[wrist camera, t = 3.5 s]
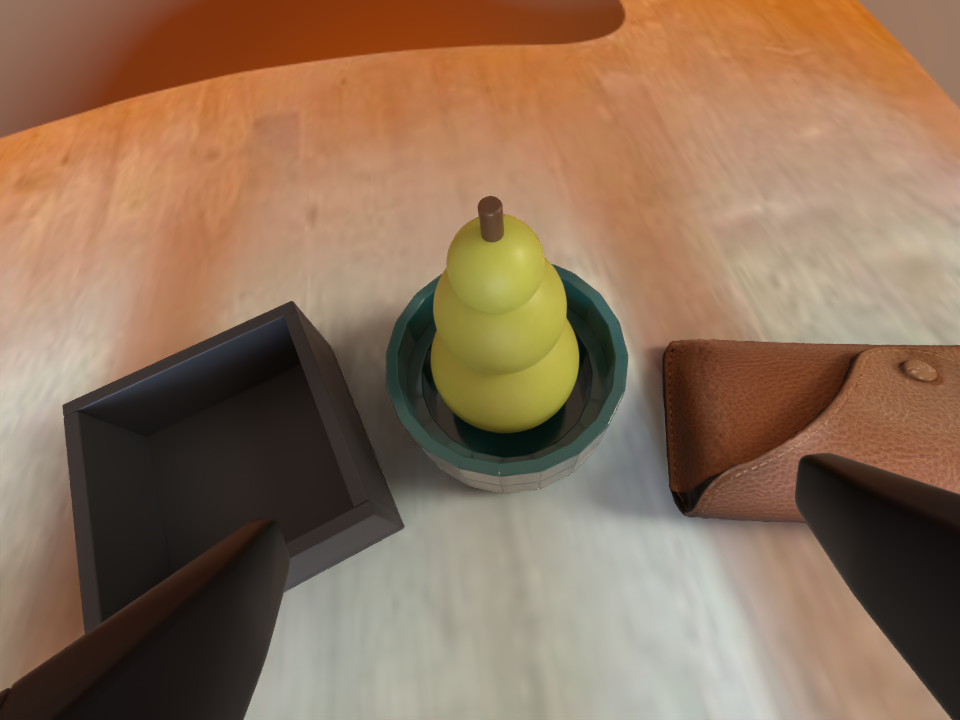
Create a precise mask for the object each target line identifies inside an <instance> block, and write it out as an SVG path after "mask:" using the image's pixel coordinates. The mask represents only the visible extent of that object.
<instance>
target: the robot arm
mask: <svg viewBox="0 0 960 720" xmlns="http://www.w3.org/2000/svg"><path fill="white" fill-rule="evenodd" d="M795 502H796V506H797V508H798V510H799V512H800V514H801V515H802V517H803V518H804V520H805V521H806V523H807V525H808V526H809V528H810V529H811V531H812V532H813V534H814V535H815V537H816V538H817V540H818V541H819V543H820V544H821V546H822V548H823V549H824V551H825V552H826V554H827V555H828V557H829V558H830V560H831V561H832V563H833V564H834V566H835V568H836V569H837V571H838V572H839V574H840V575H841V577H842V578H843V580H844V581H845V583H846V584H847V586H848V587H849V588H850V590H851V591H852V593H853V594H854V596H855V597H856V598H857V600H858V601H859V602H860V604H861V605H862V606H863V608H864V609H865V610H866V612H867V613H868V614H869V615H870V617H871V618H872V619H873V620H874V622H875V623H876V624H877V625H878V627H879V628H880V629H881V630H882V632H883V633H884V634H885V636H886V637H887V638H888V639H889V641H890V642H891V643H892V644H893V646H894V647H895V648H896V649H897V651H898V652H899V653H900V655H901V656H902V657H903V658H904V660H905V661H906V662H907V663H908V665H909V666H910V667H911V668H912V670H913V671H914V672H915V674H916V675H917V676H918V677H919V679H920V680H921V681H922V682H923V684H924V685H925V686H926V687H927V689H928V690H929V691H930V693H931V694H932V695H933V696H934V698H935V699H936V700H937V701H938V703H939V704H940V705H941V706H942V708H943V709H944V710H945V711H946V713H947V714H948V715H949V717H950V718H951V719H952V720H960V494H958V493H955V492H952V491H949V490H946V489H942V488H939V487H936V486H933V485H930V484H927V483H924V482H921V481H917V480H914V479H911V478H908V477H905V476H902V475H899V474H895V473H892V472H889V471H886V470H883V469H880V468H877V467H874V466H870V465H867V464H864V463H861V462H858V461H855V460H852V459H848V458H845V457H842V456H839V455H836V454H833V453H817V454H809V455H804V456H803V457H802V458H801V459H800V460H799V464H798V472H797V480H796V489H795ZM289 570H290V555H289V551H288V548H287V545H286V542H285V539H284V537H283V534H282V531H281V528H280V525H279V523H278V522H277V520H275V519H273V518H267V519H259V520H252V521H249V522H248V523H246V524H245V525H243V526H242V527H240V528H239V529H238V530H236V531H235V532H233V533H232V534H230V535H229V536H227V537H226V538H224V539H223V540H222V541H220V542H219V543H217V544H216V545H214V546H213V547H211V548H210V549H208V550H207V551H206V552H204V553H203V554H201V555H200V556H198V557H197V558H195V559H194V560H192V561H191V562H190V563H188V564H187V565H185V566H184V567H182V568H181V569H179V570H178V571H177V572H175V573H174V574H172V575H171V576H169V577H168V578H166V579H165V580H163V581H162V582H161V583H159V584H158V585H156V586H155V587H153V588H152V589H150V590H149V591H147V592H146V593H145V594H143V595H142V596H140V597H139V598H137V599H136V600H134V601H133V602H131V603H130V604H129V605H127V606H126V607H124V608H123V609H121V610H120V611H118V612H117V613H115V614H114V615H113V616H111V617H110V618H108V619H107V620H105V621H104V622H102V623H101V624H99V625H98V626H97V627H95V628H94V629H92V630H91V631H89V632H88V633H86V634H85V635H83V636H82V637H81V638H79V639H78V640H76V641H75V642H73V643H72V644H70V645H69V646H67V647H66V648H65V649H63V650H62V651H60V652H59V653H57V654H56V655H54V656H53V657H51V658H50V659H49V660H47V661H46V662H44V663H43V664H41V665H40V666H38V667H37V668H35V669H34V670H33V671H31V672H30V673H28V674H27V675H25V676H24V677H22V678H21V679H19V680H18V681H17V682H15V683H14V684H13V686H12V688H7V689H5V690H3V691H2V692H0V720H244V717H245V714H246V712H247V709H248V706H249V703H250V701H251V698H252V695H253V693H254V690H255V687H256V684H257V682H258V679H259V676H260V674H261V671H262V668H263V665H264V662H265V659H266V656H267V653H268V649H269V646H270V642H271V638H272V635H273V631H274V627H275V623H276V619H277V616H278V612H279V608H280V604H281V600H282V597H283V593H284V589H285V585H286V581H287V578H288V574H289Z"/></svg>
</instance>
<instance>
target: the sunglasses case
mask: <svg viewBox="0 0 960 720" xmlns="http://www.w3.org/2000/svg"><path fill="white" fill-rule="evenodd" d="M663 395H664V408H665V426H666V446H667V460H668V474H669V487H670V490H671V493H672V496H673V499H674V501H675V503H676V505H677V507H678V508H679V510H680V511H681V512H682V514H684V515H685V516H688V517H702V518H718V519H732V520H752V521H766V522H769V521H775V522H806V521H805V520H804V518H803V517H802V515H801V514H800V512H799V510H798V508H797V506H796V502H795V489H796V480H797V472H798V464H799V460H800V459H801V458H802V457H803V456H804V455H809V454H817V453H833V454H836V455H839V456H842V457H845V458H848V459H852V460H855V461H858V462H861V463H864V464H867V465H870V466H874V467H877V468H880V469H883V470H886V471H889V472H892V473H895V474H899V475H902V476H905V477H908V478H911V479H914V480H917V481H921V482H924V483H927V484H930V485H933V486H936V487H939V488H942V489H946V490H949V491H952V492H955V493H958V494H960V345H950V346H949V345H948V346H944V345H939V346H937V345H932V346H929V345H868V344H863V345H860V344H810V343H807V344H805V343H778V342H755V341H745V342H743V341H728V340H701V339H698V340H680V341H672V342H670V343H669V345H668V347H667V349H666V351H665V352H664V356H663Z"/></svg>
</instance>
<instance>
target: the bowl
mask: <svg viewBox="0 0 960 720" xmlns="http://www.w3.org/2000/svg"><path fill="white" fill-rule="evenodd" d="M551 265H552V266H553V267H554V268H555V270H556V271H557V273H558V275H559V277H560V279H561V281H562V283H563V286H564V290H565V294H566V301H567V313H566V318H567V320H568V321H569V323H570V325H571V326H572V329H573V331H574V333H575V336H576V340H577V344H578V350H579V369H578V375H577V379H576V382H575V385H574V388H573V390H572V392H571V394H570V396H569V398H568V399H567V401H566V402H565V403H564V405H563V406H562V407H561V408H560V409H559V410H558V411H557V413H555V414H554V415H553V416H552V417H551V418H549V419H548V420H547V421H545V422H543V423H542V424H540V425H538V426H536V427H534V428H531V429H529V430H525V431H522V432H516V433H493V432H489V431H484V430H482V429H479V428H476V427H474V426H472V425H470V424H468V423H466V422H465V421H463V420H462V419H461V418H459V417H458V416H457V415H456V414H455V413H453V412H452V411H451V410H450V408H449V407H448V406H447V405H446V403H445V402H444V401H443V399H442V397H441V396H440V394H439V392H438V390H437V388H436V385H435V382H434V378H433V374H432V369H431V349H432V344H433V340H434V337H435V334H436V331H437V329H436V325H435V321H434V314H433V303H434V295H435V290H436V287H437V284H438V281H439V279H440V277H441V275H442V274H441V275H440V276H438V277H437V278H436V279H435V280H433V281H432V282H431V283H429V284H428V285H427V286H425V287H424V288H423V289H422V290H420V291H419V292H418V293H417V295H415V296H414V297H413V299H412V300H411V301H410V303H409V304H408V306H407V307H406V308H405V310H404V311H403V313H402V314H401V315H400V317H399V318H398V319H397V321H396V323H395V327H394V330H393V333H392V336H391V339H390V342H389V345H388V348H387V351H386V386H387V390H388V393H389V395H390V398H391V401H392V403H393V406H394V408H395V411H396V414H397V416H398V419H399V420H400V422H401V423H402V425H403V426H404V427H405V428H406V430H407V431H408V432H409V433H410V435H411V436H412V437H413V438H414V440H415V441H416V442H417V444H418V445H419V446H420V447H421V448H422V449H423V451H424V452H425V453H426V454H427V455H428V456H429V458H430V459H431V460H432V461H433V462H434V463H435V465H436V466H437V467H438V468H439V469H441V470H442V471H444V472H445V473H447V474H449V475H450V476H452V477H454V478H456V479H457V480H459V481H461V482H462V483H464V484H466V485H469V486H470V487H474V488H479V489H484V490H488V491H493V492H498V493H512V492H520V491H529V490H537V489H538V488H539V489H541V488H543V487H545V486H547V485H549V484H551V483H553V482H555V481H557V480H560V479H562V478H564V477H566V476H568V475H570V473H573V472H574V471H575V470H576V469H577V468H578V467H579V466H580V465H581V464H582V463H583V462H584V461H585V460H586V459H587V458H588V457H589V456H590V455H591V454H592V453H593V452H594V451H595V449H596V448H597V446H598V444H599V442H600V441H601V439H602V437H603V435H604V433H605V431H606V430H607V428H608V426H609V424H610V422H611V420H612V418H613V416H614V414H615V412H616V410H617V407H618V405H619V403H620V401H621V399H622V397H623V395H624V392H625V386H626V376H627V366H628V353H627V349H626V345H625V342H624V338H623V334H622V330H621V326H620V323H619V321H618V319H617V318H616V316H615V315H614V313H613V312H612V311H611V309H610V308H609V306H608V305H607V303H606V302H605V300H604V299H603V297H602V296H601V294H599V293H598V292H597V291H596V290H595V289H593V288H592V287H591V286H590V285H588V284H587V283H586V282H585V281H583V280H582V279H581V278H579V277H578V276H577V275H576V274H574V273H572V272H570V271H568V270H565V269H563V268H561V267H558V266H556V265H553V264H551Z"/></svg>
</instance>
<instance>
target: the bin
mask: <svg viewBox="0 0 960 720" xmlns="http://www.w3.org/2000/svg"><path fill="white" fill-rule="evenodd" d="M63 415H64V427H65V437H66V447H67V457H68V467H69V478H70V488H71V498H72V508H73V518H74V529H75V539H76V549H77V559H78V569H79V580H80V590H81V600H82V610H83V620H84V631H85V634H86V633H88V632H89V631H91V630H92V629H94V628H95V627H97V626H98V625H99V624H101V623H102V622H104V621H105V620H107V619H108V618H110V617H111V616H113V615H114V614H115V613H117V612H118V611H120V610H121V609H123V608H124V607H126V606H127V605H129V604H130V603H131V602H133V601H134V600H136V599H137V598H139V597H140V596H142V595H143V594H145V593H146V592H147V591H149V590H150V589H152V588H153V587H155V586H156V585H158V584H159V583H161V582H162V581H163V580H165V579H166V578H168V577H169V576H171V575H172V574H174V573H175V572H177V571H178V570H179V569H181V568H182V567H184V566H185V565H187V564H188V563H190V562H191V561H192V560H194V559H195V558H197V557H198V556H200V555H201V554H203V553H204V552H206V551H207V550H208V549H210V548H211V547H213V546H214V545H216V544H217V543H219V542H220V541H222V540H223V539H224V538H226V537H227V536H229V535H230V534H232V533H233V532H235V531H236V530H238V529H239V528H240V527H242V526H243V525H245V524H246V523H248V522H249V521H252V520H259V519H267V518H273V519H275V520H277V522H278V523H279V525H280V528H281V531H282V534H283V537H284V539H285V542H286V545H287V548H288V551H289V555H290V570H289V574H288V578H287V581H286V585H285V589H284V592H285V591H287V590H289V589H291V588H293V587H294V586H296V585H298V584H300V583H302V582H304V581H306V580H308V579H309V578H311V577H313V576H315V575H317V574H319V573H321V572H323V571H324V570H326V569H328V568H330V567H332V566H334V565H336V564H338V563H339V562H341V561H343V560H345V559H347V558H349V557H351V556H353V555H354V554H356V553H358V552H360V551H362V550H364V549H366V548H368V547H369V546H371V545H373V544H375V543H377V542H379V541H381V540H383V539H384V538H386V537H388V536H390V535H392V534H394V533H396V532H398V531H399V530H401V529H403V528H404V524H403V522H402V520H401V517H400V515H399V512H398V510H397V507H396V505H395V502H394V500H393V497H392V495H391V493H390V490H389V488H388V485H387V483H386V480H385V478H384V475H383V473H382V470H381V468H380V466H379V463H378V461H377V458H376V456H375V453H374V451H373V448H372V446H371V443H370V441H369V438H368V436H367V434H366V431H365V429H364V426H363V424H362V421H361V419H360V416H359V414H358V411H357V409H356V407H355V404H354V402H353V399H352V397H351V394H350V392H349V389H348V387H347V384H346V382H345V380H344V377H343V375H342V372H341V370H340V367H339V365H338V362H337V360H336V357H335V355H334V353H333V350H332V348H331V346H330V345H329V344H328V343H327V341H326V340H325V339H324V338H323V337H322V335H321V334H320V333H319V332H318V331H317V329H316V328H315V327H314V326H313V325H312V323H311V322H310V321H309V320H308V319H307V317H306V316H305V315H304V314H303V313H302V311H301V310H300V309H299V308H298V307H297V306H296V304H295V303H294V302H293V301H290V302H288V303H286V304H284V305H282V306H279V307H277V308H275V309H273V310H271V311H268V312H266V313H264V314H262V315H260V316H257V317H255V318H253V319H251V320H249V321H246V322H244V323H242V324H240V325H238V326H235V327H233V328H231V329H229V330H227V331H224V332H222V333H220V334H218V335H216V336H213V337H211V338H209V339H207V340H205V341H202V342H200V343H198V344H196V345H194V346H191V347H189V348H187V349H185V350H183V351H180V352H178V353H176V354H174V355H172V356H169V357H167V358H165V359H163V360H161V361H158V362H156V363H154V364H152V365H150V366H147V367H145V368H143V369H141V370H139V371H136V372H134V373H132V374H130V375H128V376H125V377H123V378H121V379H119V380H117V381H114V382H112V383H110V384H108V385H106V386H103V387H101V388H99V389H97V390H95V391H92V392H90V393H88V394H86V395H84V396H81V397H79V398H77V399H75V400H73V401H70V402H68V403H66V404H64V405H63Z"/></svg>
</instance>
